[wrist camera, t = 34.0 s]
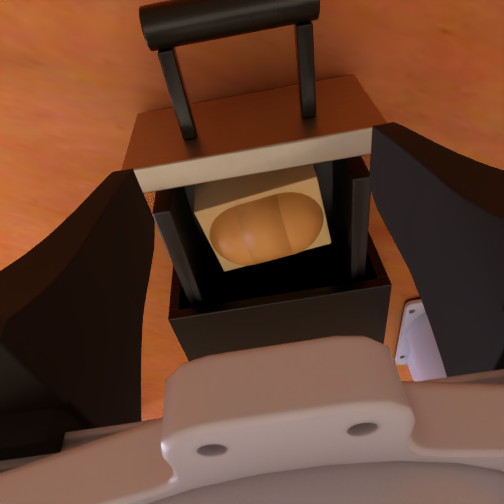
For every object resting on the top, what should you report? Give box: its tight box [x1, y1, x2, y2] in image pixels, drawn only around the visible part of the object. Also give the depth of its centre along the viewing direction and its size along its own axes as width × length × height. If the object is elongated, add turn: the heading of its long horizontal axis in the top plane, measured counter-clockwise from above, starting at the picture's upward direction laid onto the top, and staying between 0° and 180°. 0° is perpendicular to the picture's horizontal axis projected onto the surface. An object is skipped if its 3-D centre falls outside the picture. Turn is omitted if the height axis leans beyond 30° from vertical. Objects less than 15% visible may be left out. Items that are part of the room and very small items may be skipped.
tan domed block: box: [194, 164, 331, 271], centre depth 21 cm, size 4×6×4 cm
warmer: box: [168, 232, 392, 361], centre depth 28 cm, size 13×12×7 cm
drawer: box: [122, 0, 387, 308], centre depth 20 cm, size 17×10×5 cm, turn 9°
